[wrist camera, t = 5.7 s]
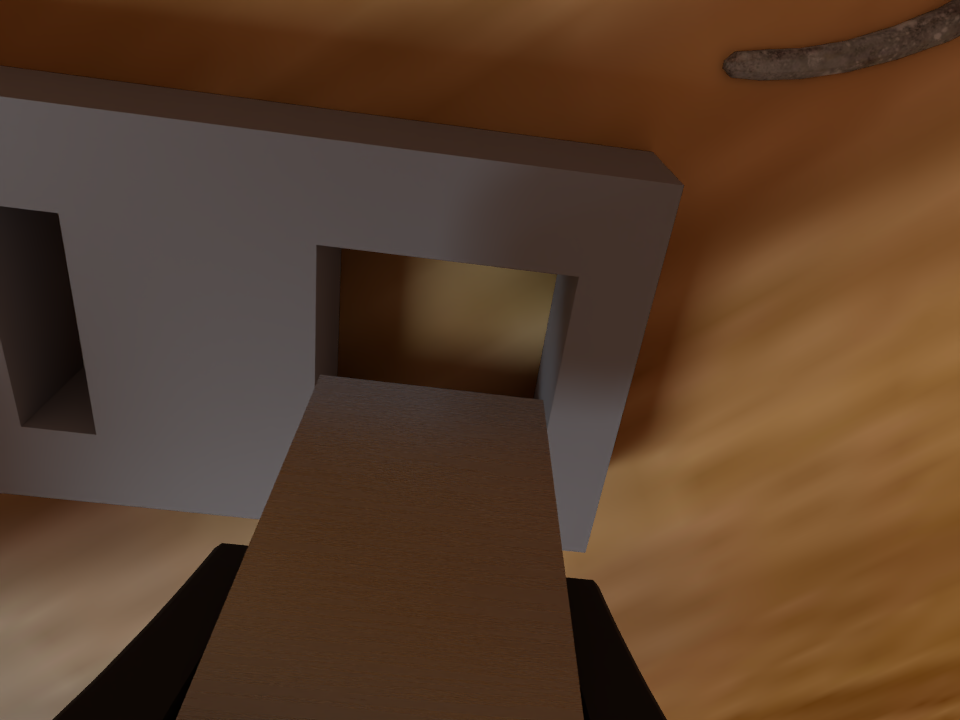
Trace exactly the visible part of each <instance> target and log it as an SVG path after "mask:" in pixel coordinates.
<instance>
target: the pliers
mask: <svg viewBox="0 0 960 720" xmlns="http://www.w3.org/2000/svg"><path fill="white" fill-rule="evenodd" d="M958 36H960V0H952V1H950V2H948V3H947V4H945V5H943V6H941V7H940V8H938V9H935V10H933V11H930V12H928V13H925V14H923V15H920V16H918V17H915V18H913V19H910V20H908V21H905V22H903V23H901V24H898V25H896V26H893V27H890V28H887V29H883V30H880V31H877V32H873V33H870V34H867V35H863V36H860V37H857V38H854V39H850V40H847V41H842V42H836V43H830V44H823V45H817V46H811V47H805V48H792V49H767V50H753V51H738V52H734V53H733V54H731V55H730V56H729V57H728V58H727V59H726V60H724V63H723V69H724V70H725V72H726V73H727V74H728V75H729V76H730V77H733V78H742V79H752V80H782V79H804V78H810V77H817V76H824V75H831V74H838V73H844V72H850V71H853V70H857V69H861V68H865V67H869V66H873V65H877V64H881V63H884V62H888V61H892V60H896V59H899V58H902V57H905V56H908V55H911V54H914V53H917V52H919V51H922V50H925V49H928V48H931V47H934V46H937V45H939V44H942V43H945V42H948V41H950V40H952V39H954V38H956V37H958Z"/></svg>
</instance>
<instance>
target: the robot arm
mask: <svg viewBox="0 0 960 720" xmlns="http://www.w3.org/2000/svg"><path fill="white" fill-rule="evenodd" d="M247 548H248V546H246V545H236V544H226V543H222V544H220V545H219V546H217V547H216V548H214V550H213V551H212V552H211V553H210V554H209V556H208V557H207V558H206V559H205V560H204V561H203V563H202V564H201V565H200V566H199V567H198V569H197V570H196V571H195V572H194V573H193V574H192V575H191V577H190V578H189V579H188V580H187V581H186V582H185V584H184V585H183V586H182V587H181V588H180V589H179V590H178V591H177V593H176V594H175V595H174V596H173V597H172V598H171V599H170V600H169V602H168V603H167V604H166V605H165V606H164V607H163V608H162V609H161V610H160V611H159V612H158V614H157V615H156V616H155V617H154V618H153V619H152V620H151V621H150V622H149V623H148V624H147V626H146V627H145V628H144V629H143V630H142V631H141V632H140V633H139V634H138V635H137V636H136V637H135V638H134V639H133V640H132V641H131V642H130V643H129V644H128V645H127V646H126V647H125V648H124V649H123V651H122V652H121V653H120V654H119V655H118V656H117V657H116V658H115V659H114V660H113V661H112V662H111V663H110V664H109V665H108V666H107V667H106V668H105V669H104V670H103V671H102V672H101V673H100V674H99V675H98V676H97V677H96V678H95V679H94V680H93V681H92V682H91V683H90V684H89V685H88V686H87V687H86V688H85V689H84V690H83V691H82V692H81V693H80V694H79V695H78V696H77V697H76V698H75V699H73V700H72V701H71V702H70V703H69V704H68V705H67V706H66V707H65V708H64V709H63V710H62V711H61V712H60V713H59V714H58V715H57V716H56V717H55V718H54V719H53V720H176V718H177V716H178V713H179V711H180V709H181V706H182V704H183V701H184V699H185V697H186V694H187V692H188V689H189V687H190V685H191V682H192V680H193V677H194V675H195V673H196V670H197V668H198V666H199V663H200V661H201V658H202V656H203V654H204V651H205V649H206V646H207V644H208V642H209V639H210V637H211V634H212V632H213V630H214V627H215V625H216V622H217V620H218V618H219V615H220V613H221V611H222V608H223V606H224V603H225V601H226V599H227V596H228V594H229V591H230V589H231V587H232V584H233V582H234V579H235V577H236V575H237V572H238V570H239V568H240V565H241V563H242V560H243V558H244V556H245V553H246V551H247ZM566 583H567V591H568V599H569V607H570V615H571V623H572V630H573V638H574V646H575V654H576V662H577V670H578V678H579V685H580V693H581V701H582V709H583V717H584V720H667V719H666V717H665V716H664V714H663V712H662V710H661V709H660V707H659V705H658V703H657V702H656V700H655V698H654V696H653V695H652V693H651V691H650V689H649V687H648V686H647V684H646V682H645V680H644V678H643V676H642V674H641V673H640V671H639V669H638V667H637V665H636V663H635V661H634V659H633V657H632V655H631V653H630V651H629V649H628V647H627V645H626V643H625V641H624V639H623V637H622V635H621V633H620V631H619V629H618V627H617V625H616V623H615V621H614V619H613V617H612V615H611V613H610V610H609V608H608V606H607V604H606V602H605V600H604V597H603V595H602V593H601V591H600V588H599V587H598V585H597V584H596V583H595V582H594V581H593V580H586V579H576V578H566Z"/></svg>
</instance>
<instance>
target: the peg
mask: <svg viewBox="0 0 960 720" xmlns="http://www.w3.org/2000/svg"><path fill="white" fill-rule="evenodd" d="M176 720H584V717H583V709H582V701H581V693H580V685H579V678H578V670H577V662H576V654H575V646H574V638H573V630H572V623H571V615H570V607H569V599H568V591H567V583H566V575H565V567H564V560H563V552H562V544H561V536H560V528H559V520H558V512H557V505H556V497H555V489H554V481H553V473H552V465H551V457H550V449H549V442H548V434H547V426H546V418H545V410H544V402H543V400H540V399H531V398H522V397H513V396H504V395H495V394H487V393H478V392H469V391H460V390H451V389H442V388H433V387H425V386H416V385H407V384H398V383H389V382H380V381H371V380H363V379H354V378H345V377H336V376H327V375H320V376H319V379H318V381H317V384H316V386H315V388H314V391H313V393H312V395H311V398H310V400H309V403H308V405H307V407H306V410H305V412H304V415H303V417H302V419H301V422H300V424H299V427H298V429H297V431H296V434H295V436H294V438H293V441H292V443H291V446H290V448H289V450H288V453H287V455H286V458H285V460H284V462H283V465H282V467H281V470H280V472H279V474H278V477H277V479H276V482H275V484H274V486H273V489H272V491H271V493H270V496H269V498H268V501H267V503H266V505H265V508H264V510H263V513H262V515H261V517H260V520H259V522H258V525H257V527H256V529H255V532H254V534H253V536H252V539H251V541H250V544H249V546H248V548H247V551H246V553H245V556H244V558H243V560H242V563H241V565H240V568H239V570H238V572H237V575H236V577H235V579H234V582H233V584H232V587H231V589H230V591H229V594H228V596H227V599H226V601H225V603H224V606H223V608H222V611H221V613H220V615H219V618H218V620H217V622H216V625H215V627H214V630H213V632H212V634H211V637H210V639H209V642H208V644H207V646H206V649H205V651H204V654H203V656H202V658H201V661H200V663H199V666H198V668H197V670H196V673H195V675H194V677H193V680H192V682H191V685H190V687H189V689H188V692H187V694H186V697H185V699H184V701H183V704H182V706H181V709H180V711H179V713H178V716H177V718H176Z"/></svg>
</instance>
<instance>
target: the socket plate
mask: <svg viewBox="0 0 960 720" xmlns="http://www.w3.org/2000/svg"><path fill="white" fill-rule="evenodd" d="M683 187H684V185H683V184H682V183H681V182H680V181H679V180H678V178H677V177H676V176H675V175H674V174H673V173H672V172H671V171H670V170H669V169H668V168H667V167H666V166H665V165H664V163H663V162H662V161H661V160H660V159H659V158H658V157H657V156H656V155H655V154H654V153H653V152H648V151H640V150H633V149H625V148H618V147H610V146H603V145H595V144H587V143H580V142H572V141H565V140H557V139H550V138H542V137H535V136H527V135H520V134H512V133H504V132H497V131H489V130H482V129H474V128H467V127H459V126H452V125H444V124H436V123H429V122H421V121H414V120H406V119H399V118H391V117H384V116H376V115H369V114H361V113H353V112H346V111H338V110H331V109H323V108H316V107H308V106H301V105H293V104H285V103H278V102H270V101H263V100H255V99H248V98H240V97H233V96H225V95H218V94H210V93H202V92H195V91H187V90H180V89H172V88H165V87H157V86H150V85H142V84H134V83H127V82H119V81H112V80H104V79H97V78H89V77H82V76H74V75H67V74H59V73H51V72H44V71H36V70H29V69H21V68H14V67H6V66H0V493H6V494H16V495H26V496H35V497H45V498H55V499H65V500H75V501H84V502H94V503H104V504H114V505H124V506H133V507H143V508H153V509H163V510H173V511H183V512H192V513H202V514H212V515H222V516H232V517H241V518H251V519H260V517H261V515H262V513H263V510H264V508H265V505H266V503H267V501H268V498H269V496H270V493H271V491H272V489H273V486H274V484H275V482H276V479H277V477H278V474H279V472H280V470H281V467H282V465H283V462H284V460H285V458H286V455H287V453H288V450H289V448H290V446H291V443H292V441H293V438H294V436H295V434H296V431H297V429H298V427H299V424H300V422H301V419H302V417H303V415H304V412H305V410H306V407H307V405H308V403H309V400H310V398H311V395H312V393H313V391H314V388H315V386H316V384H317V381H318V379H319V376H320V375H327V376H336V377H337V373H338V340H339V308H340V275H341V248H347V249H355V250H363V251H371V252H379V253H388V254H396V255H404V256H412V257H420V258H428V259H437V260H445V261H453V262H461V263H469V264H477V265H486V266H494V267H502V268H510V269H518V270H526V271H535V272H543V273H551V274H557V279H556V284H555V289H554V294H553V300H552V305H551V310H550V315H549V320H548V326H547V331H546V336H545V341H544V346H543V352H542V357H541V362H540V367H539V372H538V378H537V383H536V388H535V393H534V398H533V399H540V400H543V402H544V410H545V418H546V426H547V434H548V442H549V449H550V457H551V465H552V473H553V481H554V489H555V497H556V505H557V512H558V520H559V528H560V536H561V544H562V550H565V551H575V552H586V548H587V544H588V541H589V537H590V533H591V529H592V526H593V522H594V518H595V514H596V511H597V507H598V503H599V500H600V496H601V492H602V488H603V485H604V481H605V477H606V474H607V470H608V466H609V462H610V459H611V455H612V451H613V448H614V444H615V440H616V436H617V433H618V429H619V425H620V422H621V418H622V414H623V410H624V407H625V403H626V399H627V396H628V392H629V388H630V384H631V381H632V377H633V373H634V370H635V366H636V362H637V358H638V355H639V351H640V347H641V344H642V340H643V336H644V332H645V329H646V325H647V321H648V318H649V314H650V310H651V306H652V303H653V299H654V295H655V292H656V288H657V284H658V280H659V277H660V273H661V269H662V266H663V262H664V258H665V254H666V251H667V247H668V243H669V239H670V236H671V232H672V228H673V225H674V221H675V217H676V213H677V210H678V206H679V202H680V199H681V195H682V191H683ZM57 213H58V215H59V220H60V226H61V232H62V238H63V243H62V238H61V232H60V226H59V220H58V215H57ZM63 244H64V249H65V255H66V261H67V267H68V272H67V267H66V261H65V255H64V249H63ZM68 273H69V278H68ZM69 279H70V284H71V290H72V296H73V301H72V296H71V290H70V284H69ZM73 302H74V307H73ZM74 308H75V313H76V319H77V325H78V330H77V325H76V319H75V313H74ZM78 331H79V336H78ZM79 337H80V342H79ZM80 343H81V348H82V353H81V348H80ZM82 354H83V359H82ZM83 360H84V365H83Z"/></svg>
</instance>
